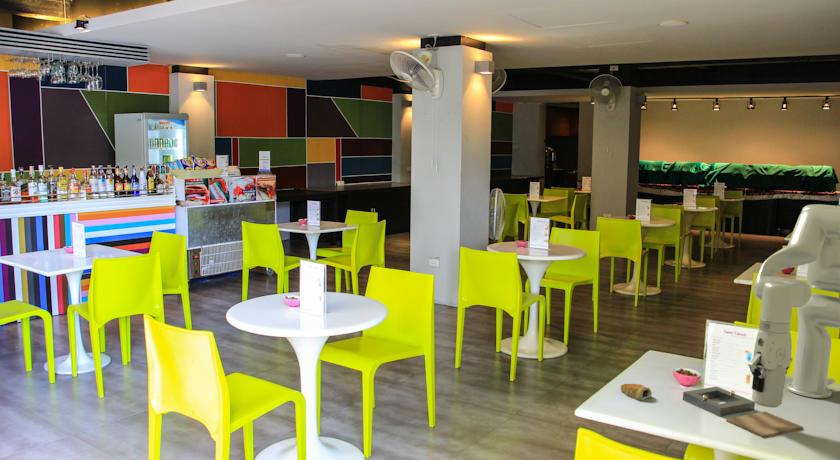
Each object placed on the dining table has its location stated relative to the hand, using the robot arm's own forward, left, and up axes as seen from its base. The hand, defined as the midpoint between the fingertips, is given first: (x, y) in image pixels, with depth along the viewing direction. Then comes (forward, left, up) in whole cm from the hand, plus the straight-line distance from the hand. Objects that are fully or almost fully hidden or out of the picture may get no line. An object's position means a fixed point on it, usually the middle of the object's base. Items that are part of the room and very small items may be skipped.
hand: (767, 388), depth 199 cm
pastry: (+18, -31, -11) cm, 38 cm away
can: (0, 0, -4) cm, 4 cm away
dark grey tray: (0, -16, -11) cm, 19 cm away
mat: (0, 0, -11) cm, 11 cm away
